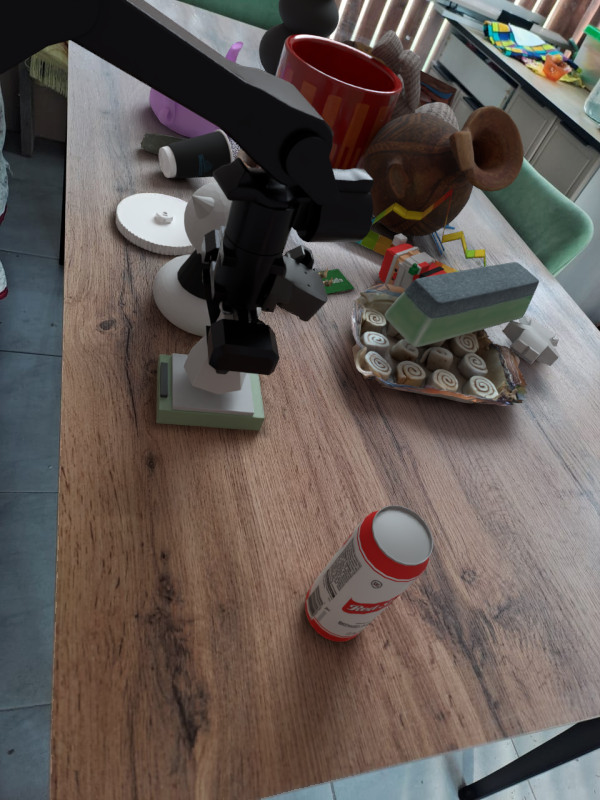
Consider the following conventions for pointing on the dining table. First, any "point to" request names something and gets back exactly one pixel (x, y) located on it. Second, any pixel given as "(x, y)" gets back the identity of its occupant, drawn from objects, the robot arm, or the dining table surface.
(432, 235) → the chopsticks
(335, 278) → the business card
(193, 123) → the teapot
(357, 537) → the beer can
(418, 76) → the toy
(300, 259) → the robot arm
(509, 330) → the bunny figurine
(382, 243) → the chart
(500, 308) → the whetstone
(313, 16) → the vase
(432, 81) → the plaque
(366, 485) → the dining table surface
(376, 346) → the baking tray
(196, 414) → the kitchen scale
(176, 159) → the dixie cup
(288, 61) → the planter
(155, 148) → the stone
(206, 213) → the decorative figurine
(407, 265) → the figurine
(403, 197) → the jug
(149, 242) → the plastic lid
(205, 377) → the flask
